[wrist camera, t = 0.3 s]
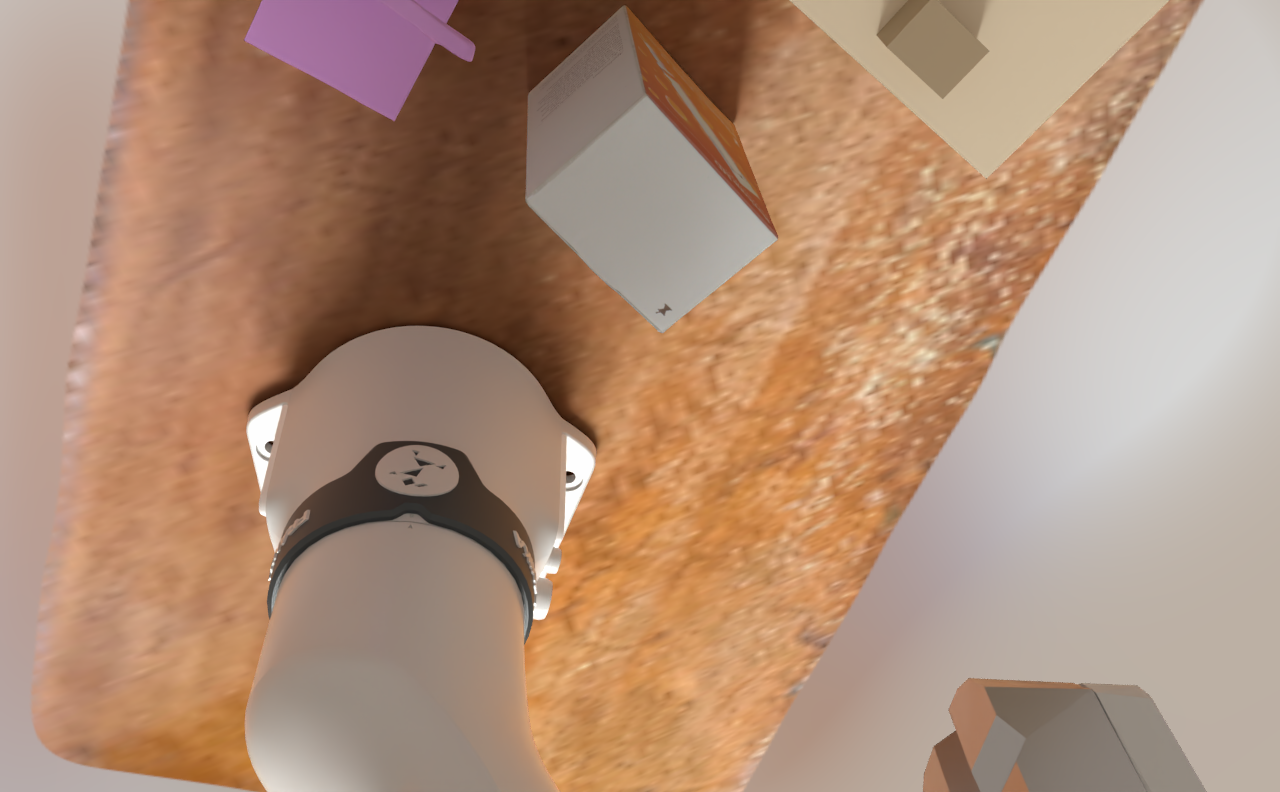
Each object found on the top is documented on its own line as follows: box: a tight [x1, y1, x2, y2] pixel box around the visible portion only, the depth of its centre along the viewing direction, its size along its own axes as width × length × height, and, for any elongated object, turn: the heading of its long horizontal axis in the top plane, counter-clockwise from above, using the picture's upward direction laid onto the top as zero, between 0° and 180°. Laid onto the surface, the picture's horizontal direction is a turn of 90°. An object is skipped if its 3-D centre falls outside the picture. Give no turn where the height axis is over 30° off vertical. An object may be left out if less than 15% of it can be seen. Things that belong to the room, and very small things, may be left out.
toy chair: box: [244, 0, 475, 121], centre depth 45 cm, size 8×9×15 cm
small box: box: [525, 5, 778, 333], centre depth 51 cm, size 8×6×13 cm
